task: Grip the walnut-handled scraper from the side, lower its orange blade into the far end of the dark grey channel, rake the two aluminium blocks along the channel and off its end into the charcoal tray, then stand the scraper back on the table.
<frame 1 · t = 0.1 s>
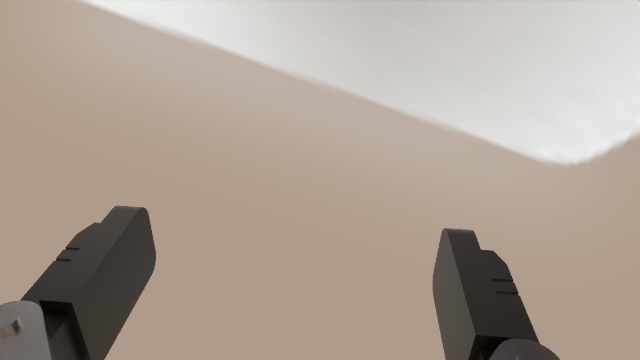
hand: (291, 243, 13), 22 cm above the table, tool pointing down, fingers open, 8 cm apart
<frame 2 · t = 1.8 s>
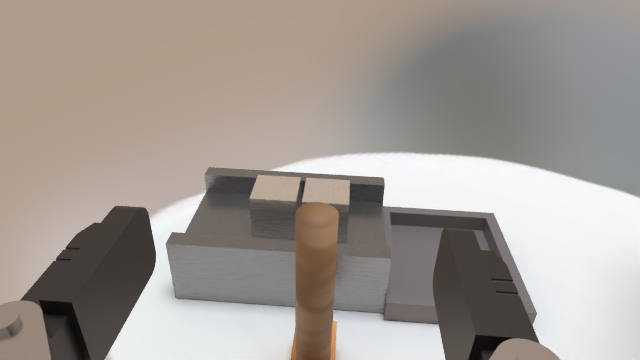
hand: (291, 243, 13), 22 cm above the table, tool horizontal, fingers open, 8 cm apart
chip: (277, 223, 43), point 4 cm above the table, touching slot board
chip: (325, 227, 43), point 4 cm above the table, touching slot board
tray: (443, 268, 44), on the table
slot board: (288, 257, 45), on the table
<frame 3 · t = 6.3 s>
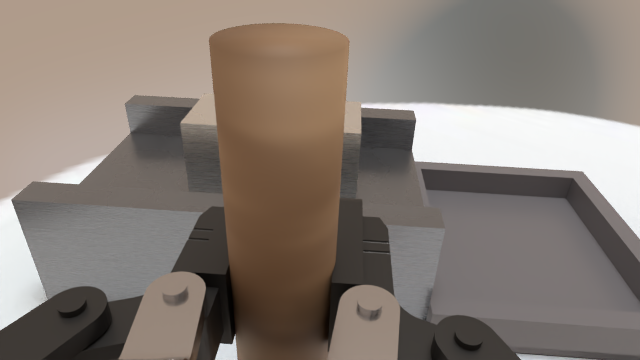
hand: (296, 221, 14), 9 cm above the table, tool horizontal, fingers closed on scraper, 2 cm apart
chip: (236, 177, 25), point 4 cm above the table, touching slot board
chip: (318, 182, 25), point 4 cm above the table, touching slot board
tray: (515, 254, 27), on the table
slot board: (257, 237, 27), on the table
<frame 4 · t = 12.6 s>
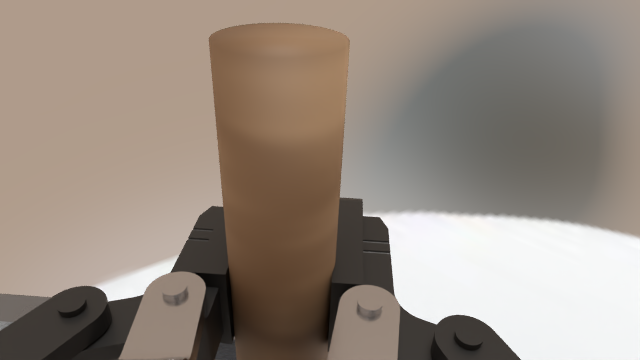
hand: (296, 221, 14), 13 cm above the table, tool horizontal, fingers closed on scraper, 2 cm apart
when the fingers open (10 cm above the table, at t = 18.8 s): scraper stays where it is, on the table.
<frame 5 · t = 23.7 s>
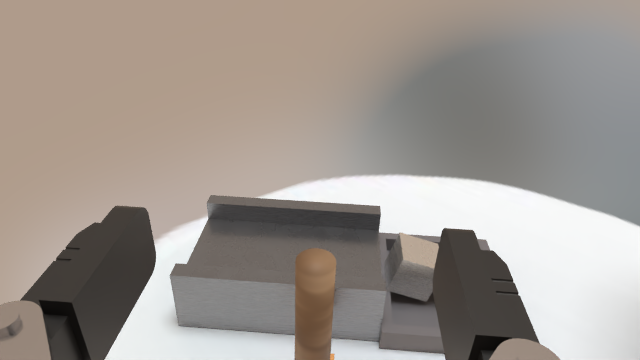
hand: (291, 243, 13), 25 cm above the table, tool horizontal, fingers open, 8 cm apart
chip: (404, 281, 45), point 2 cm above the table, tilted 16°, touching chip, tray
tray: (437, 295, 46), on the table
slot board: (287, 284, 47), on the table
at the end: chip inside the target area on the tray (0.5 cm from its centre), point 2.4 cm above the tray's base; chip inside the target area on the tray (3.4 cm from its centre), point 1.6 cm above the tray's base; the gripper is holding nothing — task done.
